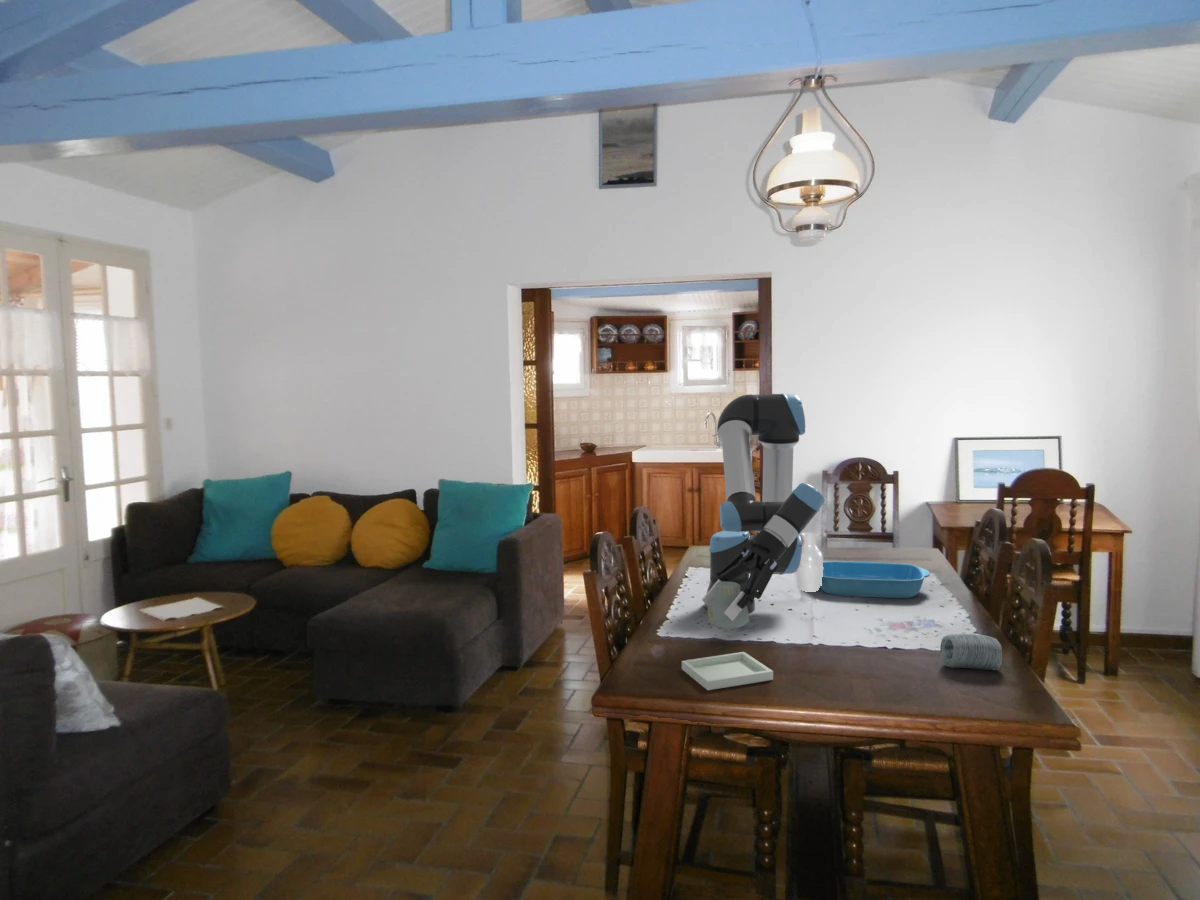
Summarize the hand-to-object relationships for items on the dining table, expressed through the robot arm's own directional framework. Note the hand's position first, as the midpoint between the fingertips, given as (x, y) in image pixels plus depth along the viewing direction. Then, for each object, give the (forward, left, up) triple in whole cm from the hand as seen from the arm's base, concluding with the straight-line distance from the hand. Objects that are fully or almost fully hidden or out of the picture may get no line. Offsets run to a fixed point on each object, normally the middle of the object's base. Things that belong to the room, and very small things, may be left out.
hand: (716, 610), depth 194 cm
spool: (+18, +59, -16) cm, 63 cm away
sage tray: (0, +3, -16) cm, 17 cm away
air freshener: (0, +3, -4) cm, 5 cm away
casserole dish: (-47, +79, -16) cm, 93 cm away
